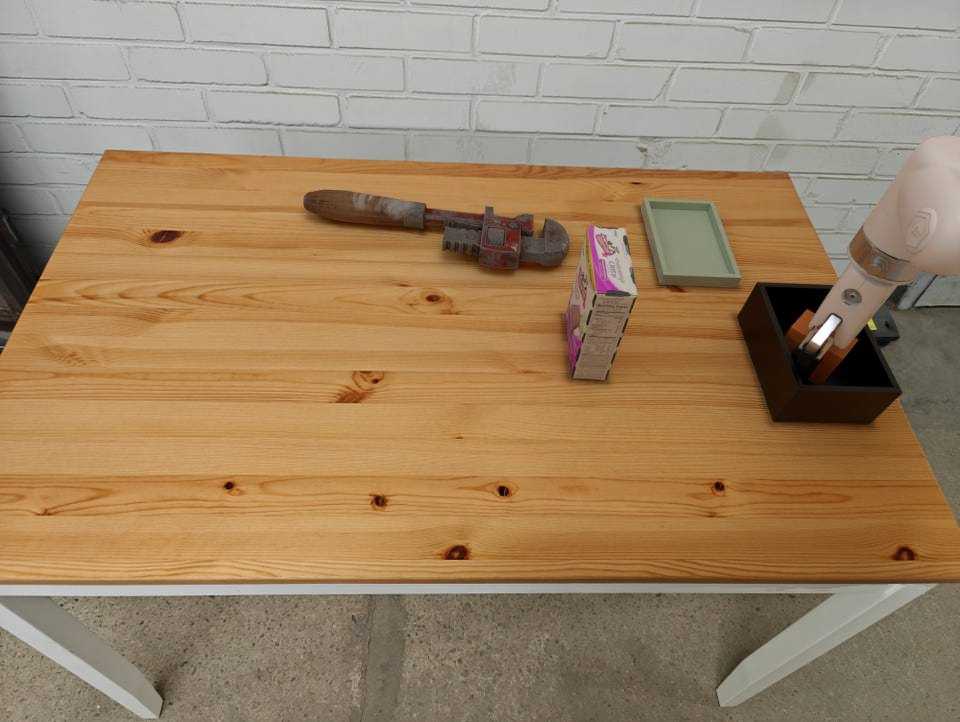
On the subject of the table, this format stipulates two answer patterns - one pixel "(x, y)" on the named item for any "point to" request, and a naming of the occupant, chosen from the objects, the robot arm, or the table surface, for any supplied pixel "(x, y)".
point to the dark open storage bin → (791, 398)
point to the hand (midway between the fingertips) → (813, 350)
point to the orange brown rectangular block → (830, 357)
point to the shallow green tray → (689, 243)
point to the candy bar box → (600, 302)
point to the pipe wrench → (494, 241)
